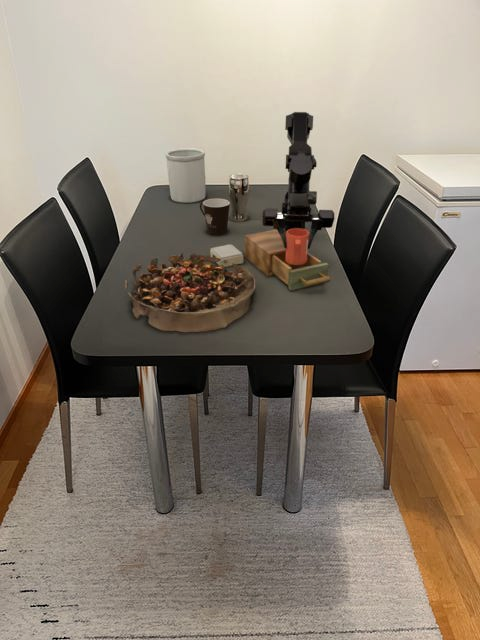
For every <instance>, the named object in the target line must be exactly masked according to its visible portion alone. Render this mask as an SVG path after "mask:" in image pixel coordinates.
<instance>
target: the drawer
mask: <svg viewBox="0 0 480 640" xmlns="http://www.w3.org/2000/svg"><path fill="white" fill-rule="evenodd" d="M285 255H286V252H284V253H279V254H274V255H271V261H270V271H271V272H273V273H274V274H275V275H274V276H276V277H277V278H278V279H280V280H281V281H282V282H283V283H284V284H286V285H287V286H288V290H289V291H294V290H298V289H302V288H308V287H312V286H315V285H320V284H323V283H328V282H330V281H331V277H330V276H329V275H328V273H329V263H328V262H322V261H321V260H320V259H318V258H317V257H315V256H314V255H313V254H311V253H309V252H308V255H307V262H306V263H304V264H301V265H293V264H289V263H287V262H286V260H285Z"/></svg>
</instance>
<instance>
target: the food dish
mask: <svg viewBox="0 0 480 640" xmlns="http://www.w3.org/2000/svg"><path fill="white" fill-rule="evenodd" d="M167 260H168V262H170V263H171V266H167V265H166V263H164V262H162V263H161V266H160V268H158V262H159V259H158V258H153V259H151V260H150V263H149V266H147V271H148V273H141V274H140V276H139V279H137V272H140V270H141V269H142V268H143V264H141V263H140V264H138V265H136V266H134V268H133V269H132V271H131V272H132V273H131V274H132V276H133V278H134V281H135V284H134V287H133V288H134V290H133V293H134V295H132V293H131V292H129V291H128V289H129V288H128V287H129V283H128V280H127V279H125V280H124V284H125V285H124V286H125V290H126V292H127V294H128V296H129V297H130V298H131V301H132V306H133V308H132V309H131V311H132V313H133V317H135V319H137V320H138V319H139V318H140V316H147V317H148V320H147V322H148V325H150V326H151V327H153V328H156V329H158V330H160V331H164V332H175V331H176V332H179V333H195V332H197V333H198V332H209V331H214V330H219V329H224V328H226V327H227V326H228V325H229V324H231V323H233V322H234V321H236V320H238V319H239V318H241V317H242V316H243V315H245V314H246V313H247V312H248V311H249V310H250V304H251V303H252V296H253V294H254V292H255V290H256V288H257V287H256V284H257V282H256V279H255V277H254V275H253V274H252V272H251V271H250V270H248V269H246V268H245V267H244V266H240V265H239V264H233V263H232V264H233V265H232V266H233V267H232V268H233V270H235V271H236V273H235V272H234V271H230V270H229V271H228V270H227V268H226V267H224V266H223V265H222V266H221V267H220V266H219V265H218V264H217V265H215V266H213V265H212V264H214V263H215V264H216V262H218V261H220V260H221V259H220V258H215V257H211V256H208V255H202V254H201V255H200V254H197V253H191V254H190V256H189V258H187V259H186V258H185V257H184V253H183V252H180V254H179V255H176V254H175V255H169V256H168V257H167ZM206 262H209V263H206ZM223 262H224V263H227V262H228V261H227V260H224V261H223ZM210 263H212V264H210Z"/></svg>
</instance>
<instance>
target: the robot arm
mask: <svg viewBox="0 0 480 640" xmlns="http://www.w3.org/2000/svg"><path fill="white" fill-rule="evenodd" d="M284 123H285V124H284V130H285V131H287V133H286V137H287V139H288V142H289V143H290V144H291V145H289V147H288V154H285V170H287V172H288V183H287V184H288V185H287V192H286V193H285V195H284V202H282V203H281V212H279V208H273V207H272V208H271V207H269V208H267V207H265V208H264V209H263V210H262V226H263V227H272V228H273V230H276V229H277V230H278V232H279V234H280V236H281V239H282V242H283V245H284V248H286V232H287V230H289V229H293V228H302V229H306V223H311V224H310V230H309V241H308V250H310V248H311V245H312V244H313V240H314V238H315V236H316V234H317V232H318V231H322V229H330V228H333V225H334V222H335V212H334V210H333V209H319V210H318V214H317V213H316V214H315V213H313V214H312V207H311V205H314V206H315V205H317V199H318V192H317V191H316V190H315V191H314V190H310V183H311V179H312V172H313V171H314V170H315V168H317V165H318V164H317V163H318V162H317V159H316V158H315V155H314V154H312V153H313V152H312V151H313V150H312V149H313V148H312V146H311V145H309V144H308V140H309V139H310V135H311V131H313V128H314V115H311V114H310V113H309V112H307V111H293V112H291V113H290V114H286V115H285V122H284ZM312 170H313V171H312Z"/></svg>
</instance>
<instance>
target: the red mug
mask: <svg viewBox="0 0 480 640" xmlns="http://www.w3.org/2000/svg"><path fill="white" fill-rule="evenodd" d="M309 235H310V230H307V228H305V229H302V228H293V229H289V230H287V236H286V255H285V260H286V262H287V263H289V264H293V265H301V264H304V263H306V262H307V255H308V253H309V249H308V241H309Z"/></svg>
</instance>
